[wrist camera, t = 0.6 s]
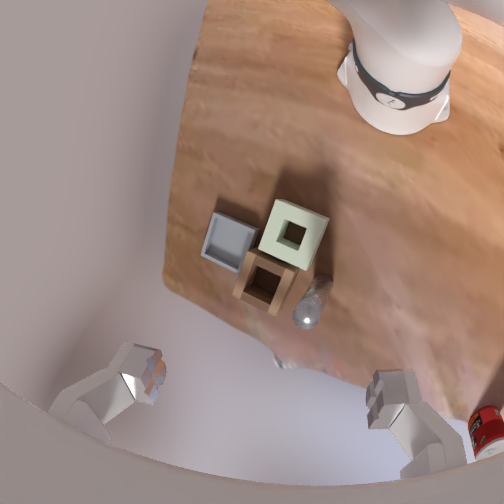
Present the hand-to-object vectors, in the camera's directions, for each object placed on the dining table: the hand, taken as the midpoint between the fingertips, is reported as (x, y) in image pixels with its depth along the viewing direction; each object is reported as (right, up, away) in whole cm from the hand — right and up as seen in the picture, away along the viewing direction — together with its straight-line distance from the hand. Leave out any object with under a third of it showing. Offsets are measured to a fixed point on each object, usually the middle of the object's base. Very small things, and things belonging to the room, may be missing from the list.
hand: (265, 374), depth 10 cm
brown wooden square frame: (+2, 0, +39) cm, 39 cm away
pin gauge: (+11, -1, +36) cm, 37 cm away
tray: (-4, +6, +40) cm, 41 cm away
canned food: (+47, -30, +27) cm, 62 cm away
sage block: (+7, +8, +36) cm, 37 cm away
